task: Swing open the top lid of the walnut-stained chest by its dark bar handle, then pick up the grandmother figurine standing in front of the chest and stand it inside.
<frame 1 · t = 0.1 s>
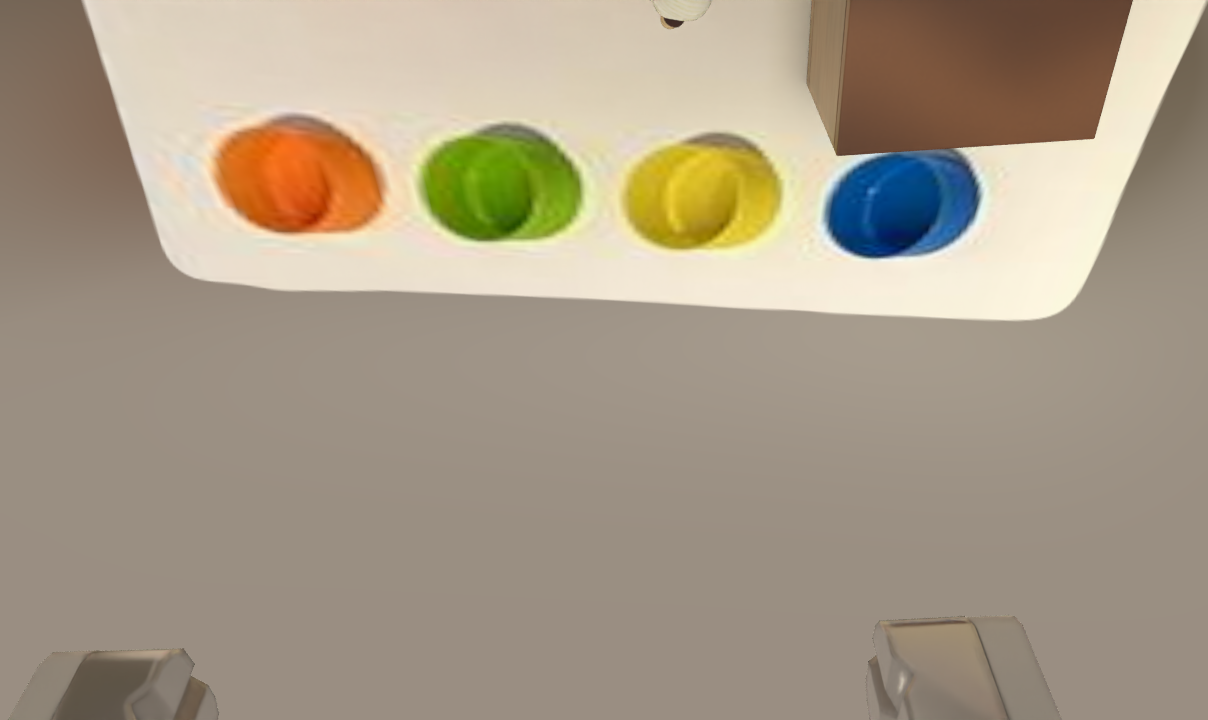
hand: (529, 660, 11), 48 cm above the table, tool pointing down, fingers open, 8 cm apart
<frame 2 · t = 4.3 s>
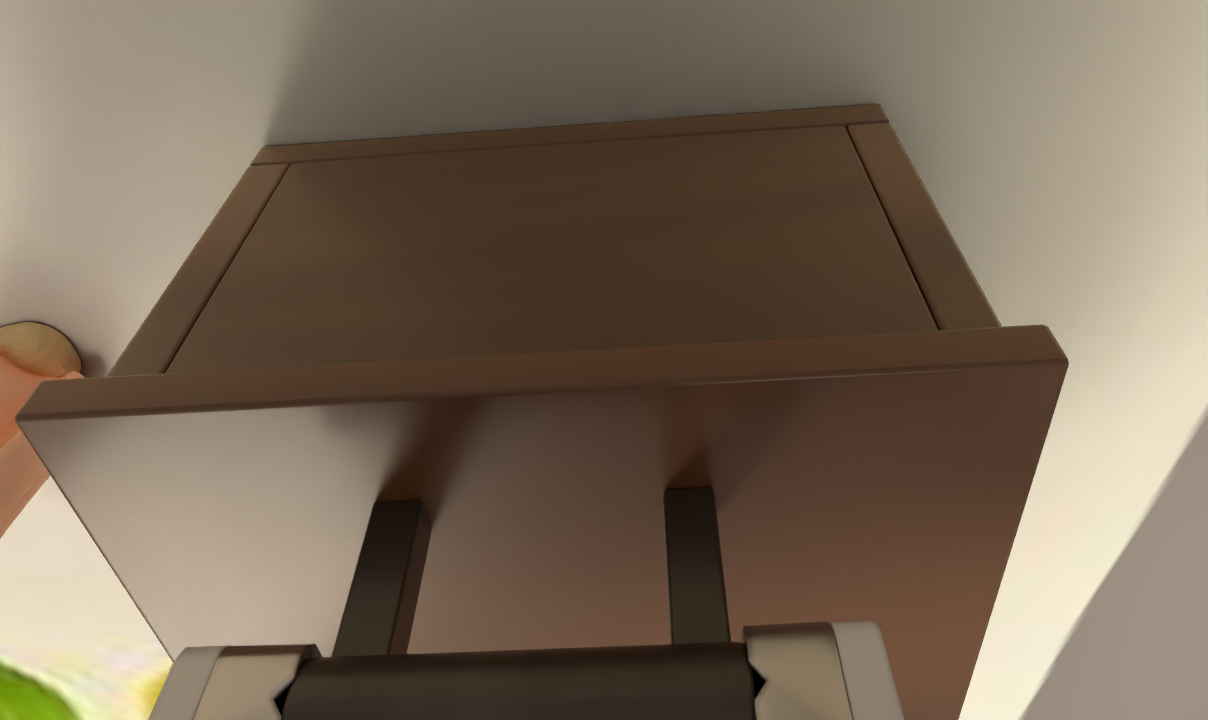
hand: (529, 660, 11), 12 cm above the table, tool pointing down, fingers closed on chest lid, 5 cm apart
grandmother figurine: (44, 368, 24), on the table
chest: (595, 401, 24), on the table
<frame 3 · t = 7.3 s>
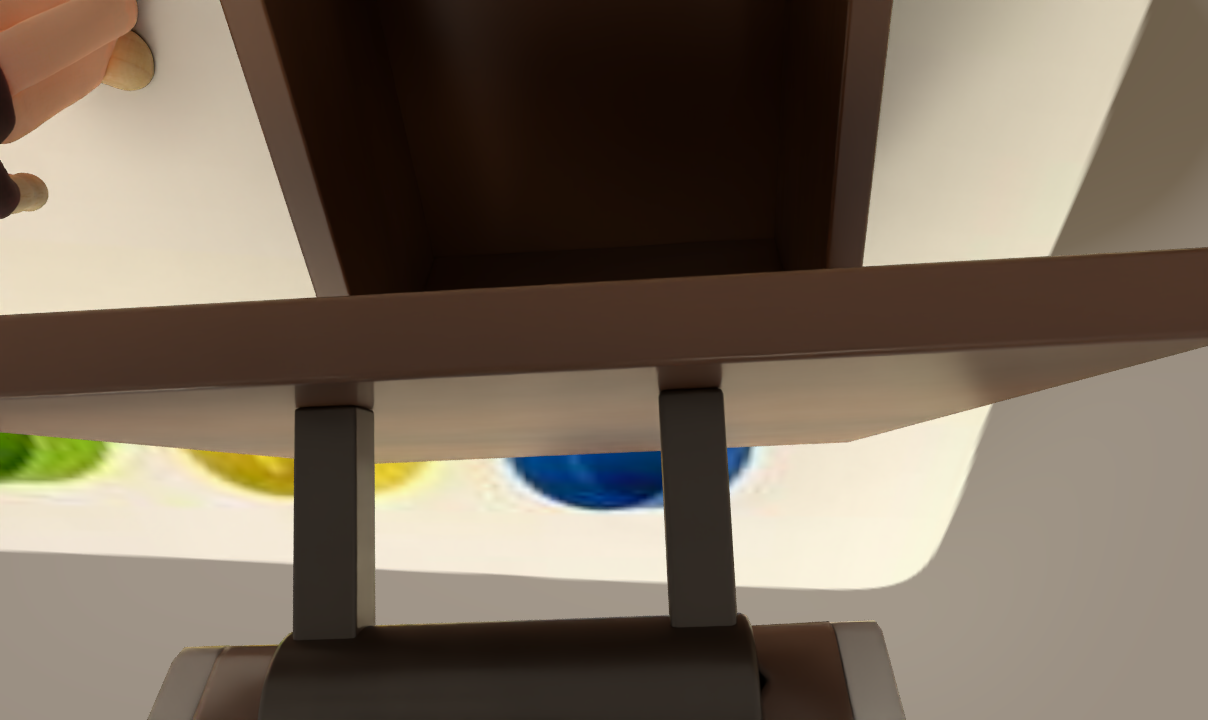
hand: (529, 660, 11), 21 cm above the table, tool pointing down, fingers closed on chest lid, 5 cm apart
chest lid: (571, 530, 16), point 17 cm above the table, hinge at 43.7°, touching gripper
chest: (584, 28, 27), on the table
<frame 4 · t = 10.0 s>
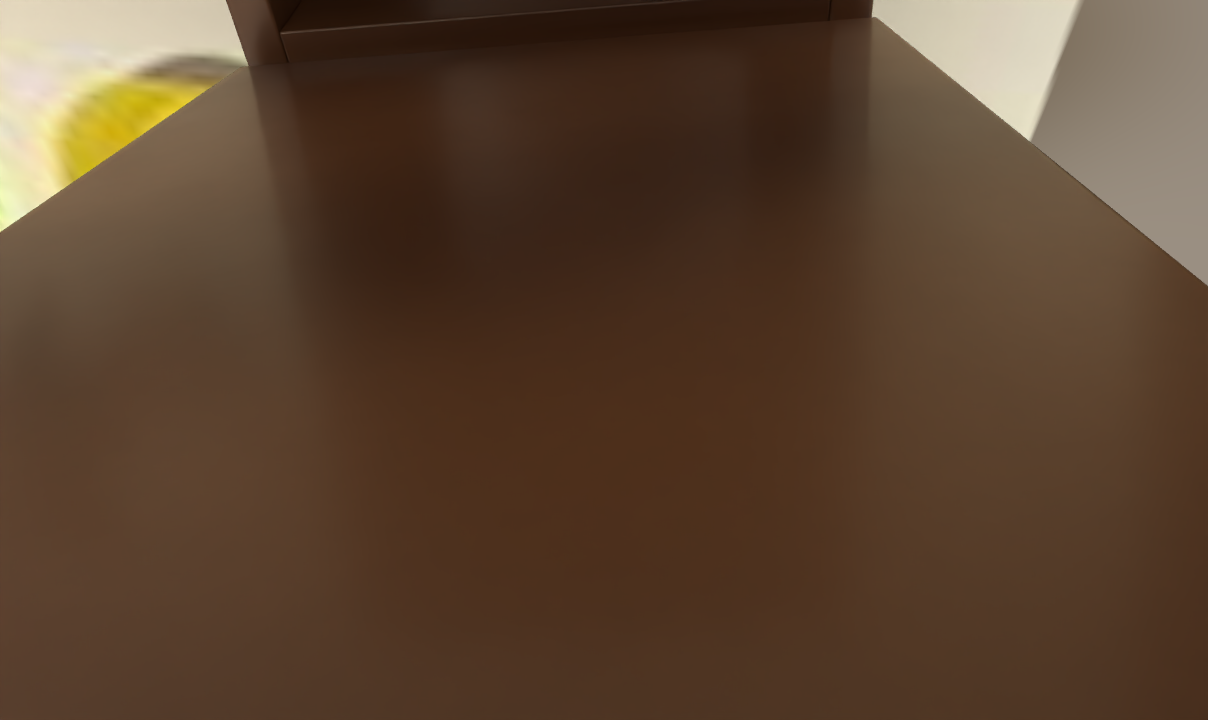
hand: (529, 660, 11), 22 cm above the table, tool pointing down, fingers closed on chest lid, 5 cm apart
chest lid: (535, 350, 13), point 18 cm above the table, hinge at 80.3°, touching gripper
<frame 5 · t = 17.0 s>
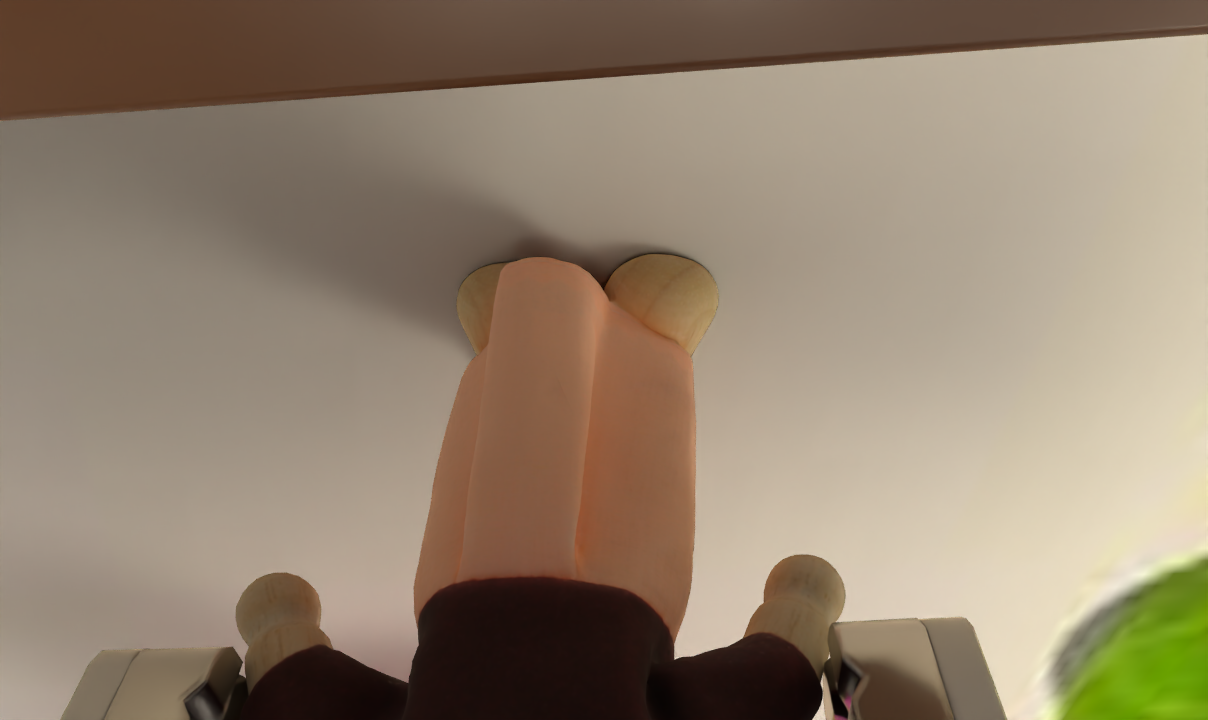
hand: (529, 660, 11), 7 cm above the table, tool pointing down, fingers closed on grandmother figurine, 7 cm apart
grandmother figurine: (556, 314, 16), on the table, touching gripper
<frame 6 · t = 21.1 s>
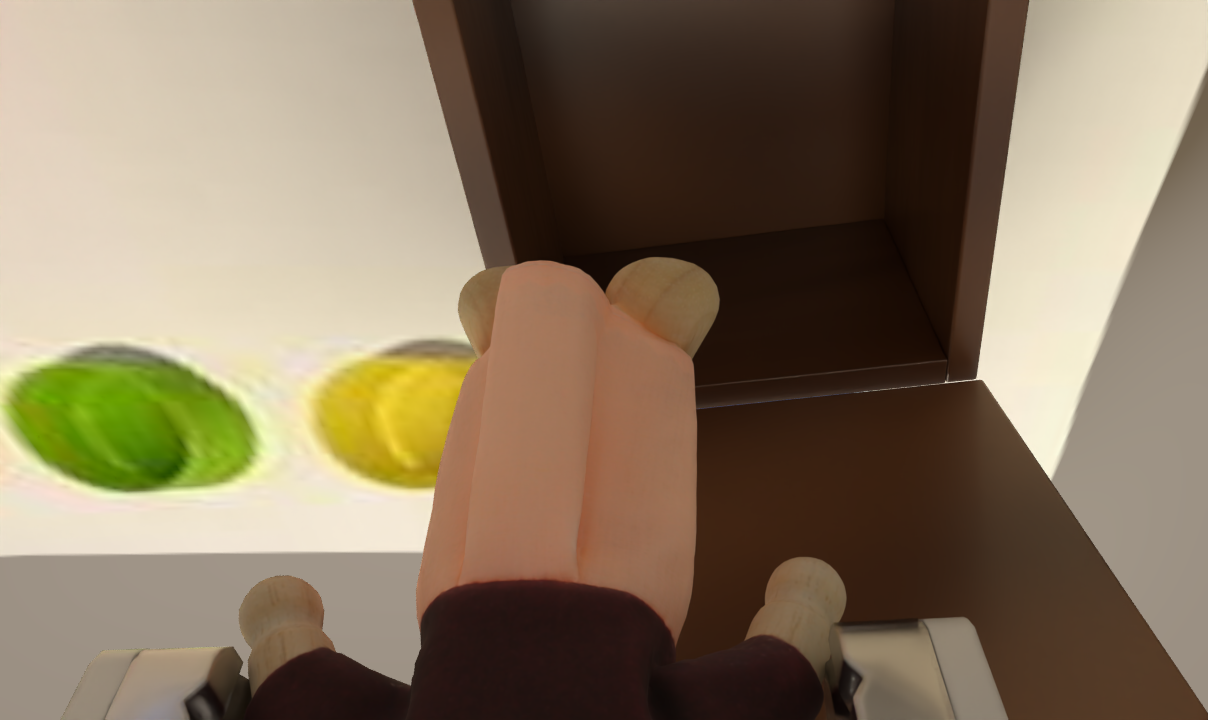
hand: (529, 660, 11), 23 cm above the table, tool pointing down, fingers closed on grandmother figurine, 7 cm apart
grandmother figurine: (558, 317, 16), point 16 cm above the table, touching gripper
chest lid: (794, 688, 20), point 18 cm above the table, hinge at 78.9°
chest: (703, 36, 29), on the table
when the fingers open (7 cm above the table, at t = 25.5 s): grandmother figurine stays where it is, resting on chest.
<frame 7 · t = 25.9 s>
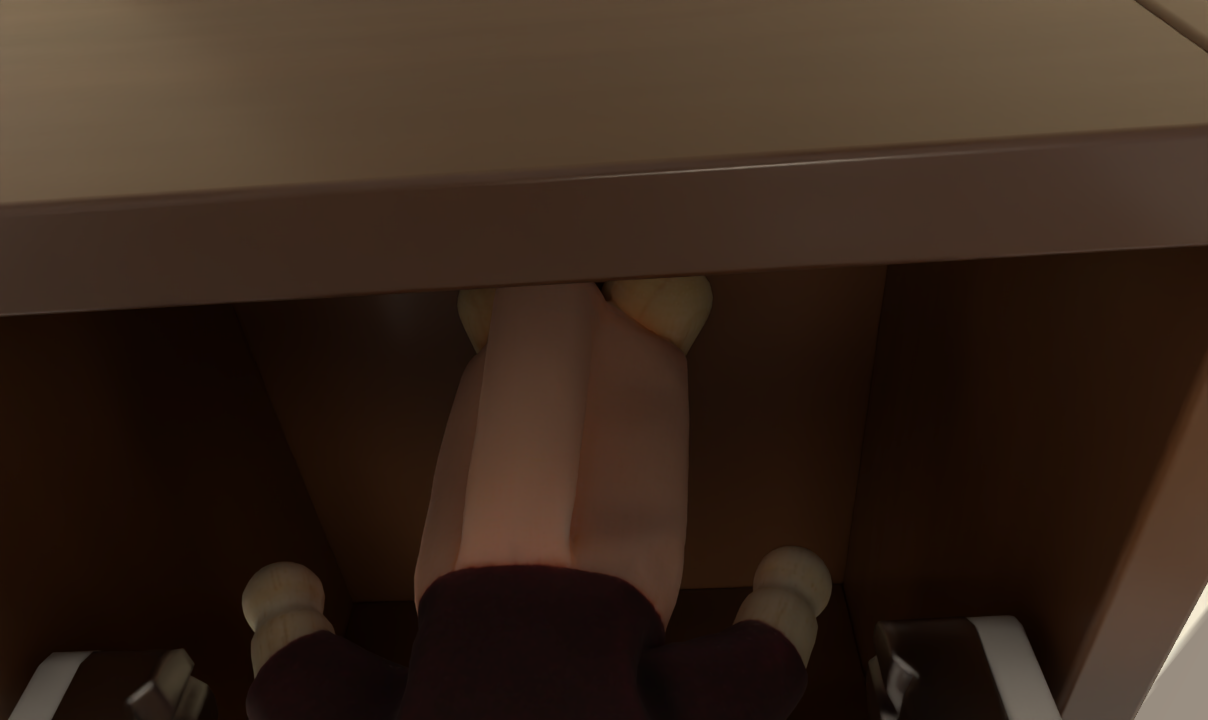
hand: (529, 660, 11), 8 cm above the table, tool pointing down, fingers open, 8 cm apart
grandmother figurine: (555, 314, 17), point 1 cm above the table, touching chest
chest: (565, 331, 18), on the table
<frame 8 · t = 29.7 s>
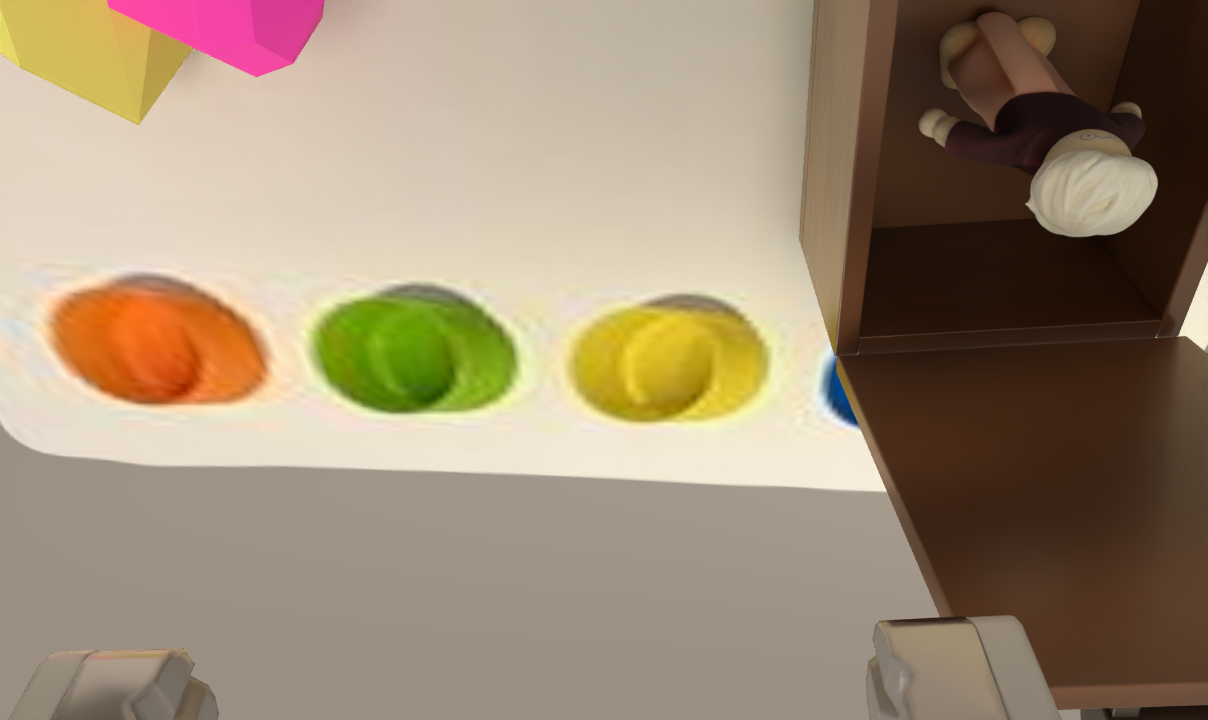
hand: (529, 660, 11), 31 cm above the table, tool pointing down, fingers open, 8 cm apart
grandmother figurine: (978, 50, 37), point 1 cm above the table, touching chest
chest lid: (1096, 532, 29), point 18 cm above the table, hinge at 78.9°
chest: (970, 66, 38), on the table
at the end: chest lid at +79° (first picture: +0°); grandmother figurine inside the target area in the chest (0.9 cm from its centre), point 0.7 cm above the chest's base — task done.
